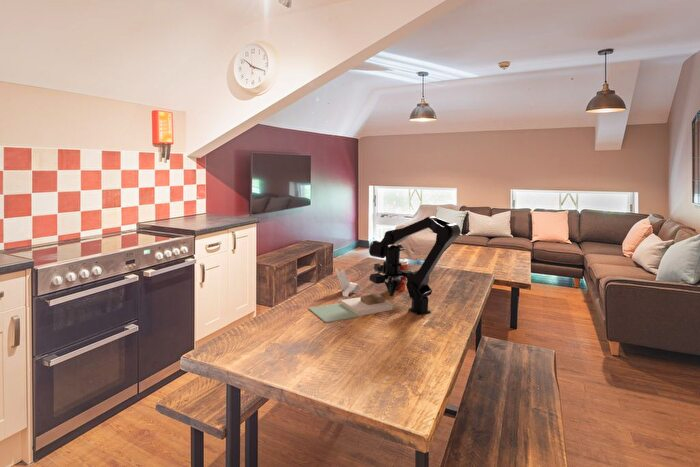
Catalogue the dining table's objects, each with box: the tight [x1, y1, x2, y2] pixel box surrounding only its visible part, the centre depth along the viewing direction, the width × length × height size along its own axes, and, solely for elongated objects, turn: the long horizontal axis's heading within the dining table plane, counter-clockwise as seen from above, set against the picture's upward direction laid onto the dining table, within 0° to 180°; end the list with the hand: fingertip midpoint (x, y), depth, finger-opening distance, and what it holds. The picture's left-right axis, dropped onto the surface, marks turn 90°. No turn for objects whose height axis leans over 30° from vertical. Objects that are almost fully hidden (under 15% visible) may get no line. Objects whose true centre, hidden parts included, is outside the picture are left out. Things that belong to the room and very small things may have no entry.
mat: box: [308, 302, 360, 323], centre depth 160 cm, size 16×14×1 cm
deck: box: [340, 296, 393, 317], centre depth 167 cm, size 14×16×2 cm
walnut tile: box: [360, 293, 386, 305], centre depth 168 cm, size 8×6×2 cm
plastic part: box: [334, 268, 361, 298], centre depth 185 cm, size 8×10×12 cm
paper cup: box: [395, 258, 410, 292], centre depth 192 cm, size 8×8×14 cm
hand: (391, 296), depth 172 cm, fingers closed
